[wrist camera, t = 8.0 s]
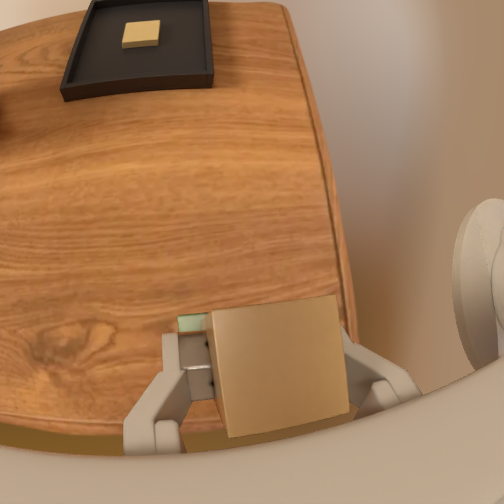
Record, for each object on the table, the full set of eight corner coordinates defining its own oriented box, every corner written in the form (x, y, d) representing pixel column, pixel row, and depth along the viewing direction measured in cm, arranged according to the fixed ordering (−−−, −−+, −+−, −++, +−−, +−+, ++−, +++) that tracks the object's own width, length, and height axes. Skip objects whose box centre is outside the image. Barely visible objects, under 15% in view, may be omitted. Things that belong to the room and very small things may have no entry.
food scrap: (160, 26, 30) (160, 19, 29) (158, 45, 29) (158, 39, 28) (126, 29, 29) (126, 22, 28) (122, 49, 28) (121, 42, 27)
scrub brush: (277, 306, 16) (369, 276, 8) (286, 375, 16) (385, 412, 7) (178, 317, 15) (163, 299, 7) (187, 389, 15) (186, 455, 6)
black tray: (205, 2, 33) (207, -10, 31) (211, 88, 29) (213, 74, 27) (93, 11, 30) (91, 0, 28) (64, 101, 26) (59, 89, 24)
